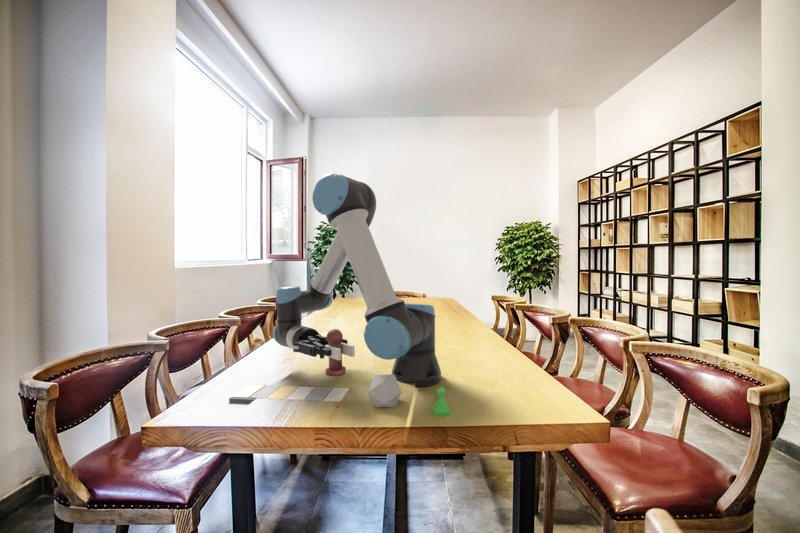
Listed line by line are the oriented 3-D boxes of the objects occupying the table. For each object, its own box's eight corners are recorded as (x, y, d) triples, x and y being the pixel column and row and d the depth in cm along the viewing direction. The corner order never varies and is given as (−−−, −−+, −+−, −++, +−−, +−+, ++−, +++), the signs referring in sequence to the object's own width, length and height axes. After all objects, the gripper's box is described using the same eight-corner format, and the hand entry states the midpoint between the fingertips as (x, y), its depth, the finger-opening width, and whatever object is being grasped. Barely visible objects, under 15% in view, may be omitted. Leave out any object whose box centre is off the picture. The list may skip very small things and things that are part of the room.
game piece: (440, 417, 79) (440, 391, 79) (428, 410, 83) (428, 386, 82) (454, 412, 82) (454, 387, 82) (441, 406, 85) (441, 382, 85)
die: (389, 421, 79) (409, 383, 82) (357, 400, 80) (379, 364, 83) (389, 418, 87) (408, 383, 90) (361, 399, 88) (380, 366, 91)
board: (351, 391, 95) (351, 387, 95) (340, 407, 85) (340, 402, 85) (250, 387, 99) (250, 383, 99) (229, 402, 89) (229, 397, 89)
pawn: (348, 370, 93) (346, 327, 92) (342, 376, 87) (340, 331, 87) (329, 370, 93) (328, 327, 93) (322, 376, 88) (321, 331, 88)
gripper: (328, 346, 109) (372, 360, 92) (277, 357, 98) (317, 375, 81) (327, 323, 109) (372, 332, 92) (276, 331, 98) (316, 344, 81)
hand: (346, 353), depth 86 cm, fingers closed on pawn, 3 cm apart
